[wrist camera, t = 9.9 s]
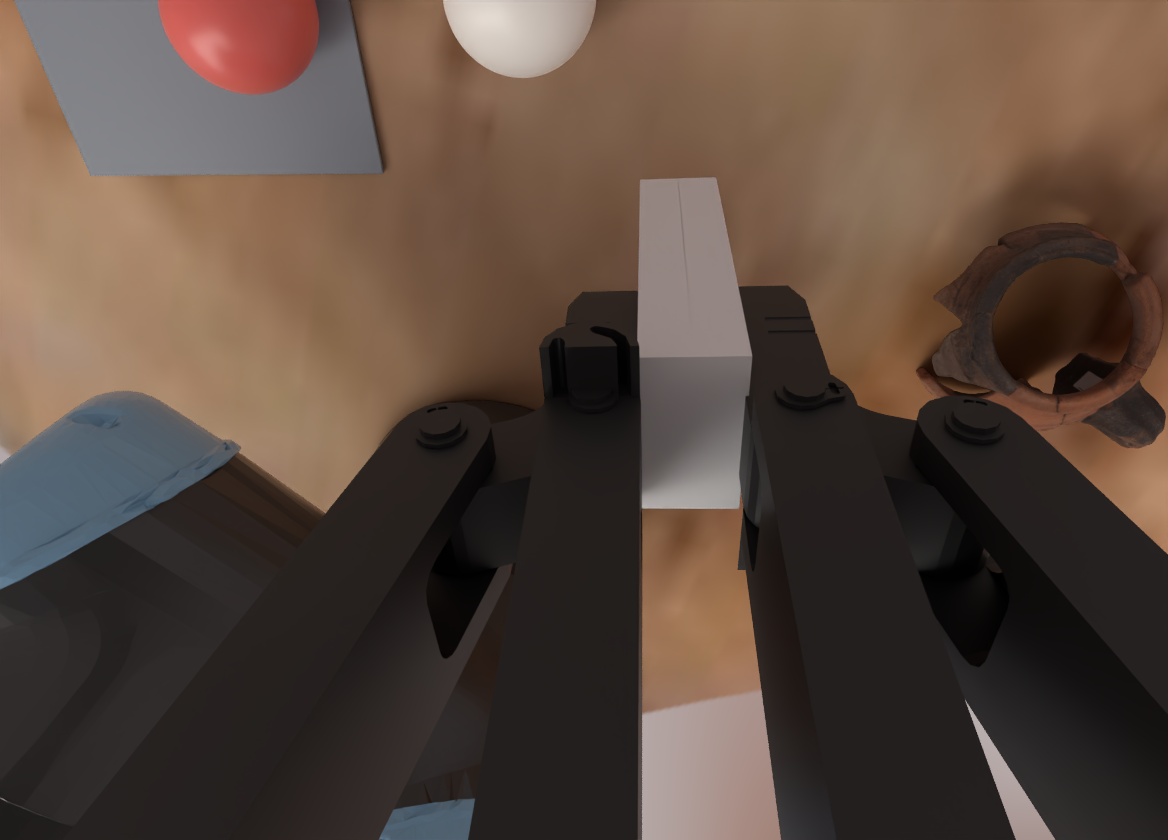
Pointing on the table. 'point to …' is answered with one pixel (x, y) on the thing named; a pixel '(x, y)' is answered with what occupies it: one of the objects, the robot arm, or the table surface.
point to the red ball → (243, 40)
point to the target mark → (198, 98)
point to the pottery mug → (1086, 382)
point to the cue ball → (520, 32)
